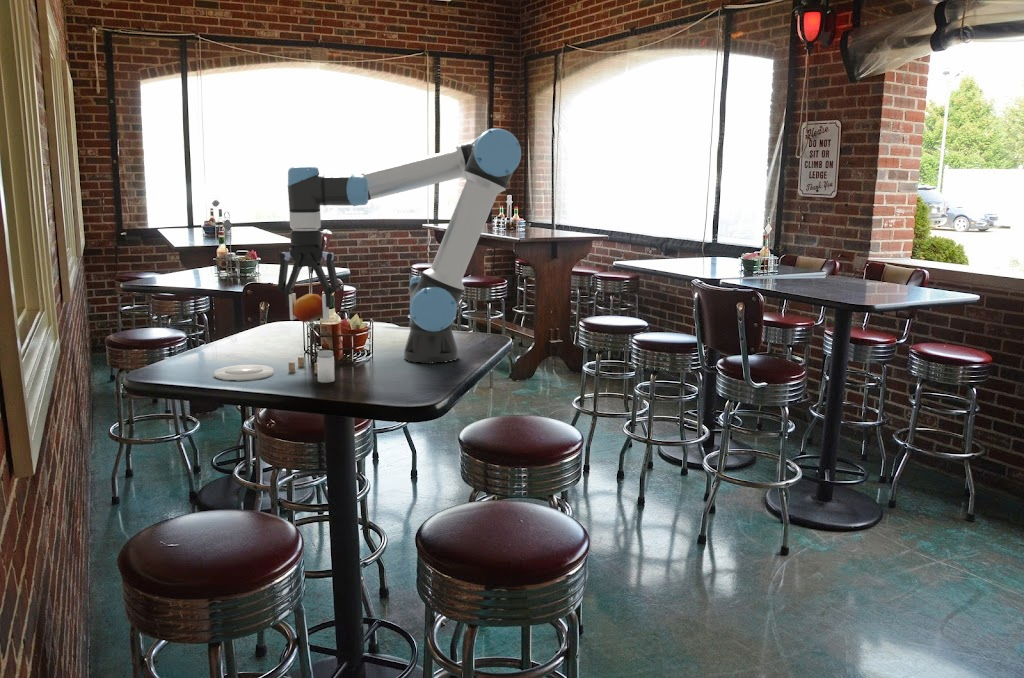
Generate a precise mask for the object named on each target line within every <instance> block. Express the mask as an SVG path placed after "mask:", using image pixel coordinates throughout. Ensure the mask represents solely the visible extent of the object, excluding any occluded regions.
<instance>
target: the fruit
mask: <svg viewBox="0 0 1024 678" xmlns="http://www.w3.org/2000/svg"><path fill="white" fill-rule="evenodd" d="M293 313H294V316H295V317H296V318H297V319H298V321H300V322H301V323H302V322H303V323H308V322H314V321H315V322H318V320H319V319H321V320H323V306H322V296H320V295H319V294H318V293H317V294H316V293H307V294H304V295H303V296H301V297H299V298H298V299H297V298H296V303H295V305H294V309H293Z"/></svg>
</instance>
